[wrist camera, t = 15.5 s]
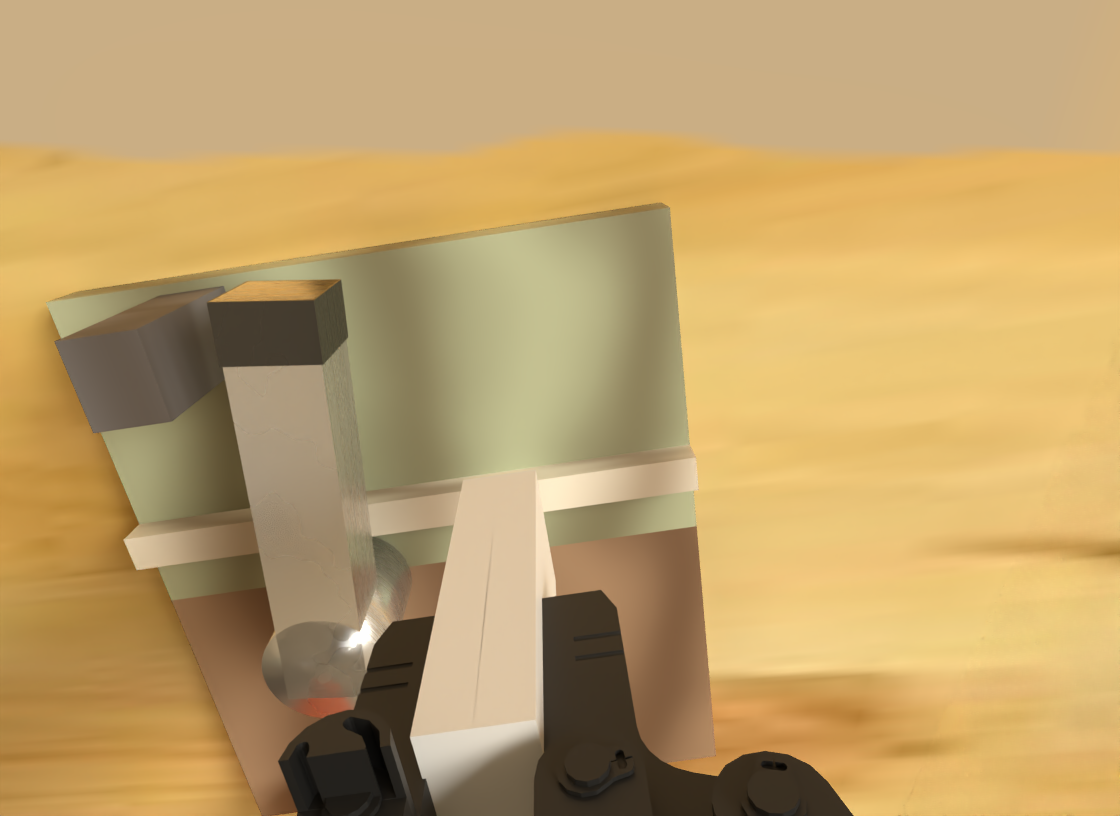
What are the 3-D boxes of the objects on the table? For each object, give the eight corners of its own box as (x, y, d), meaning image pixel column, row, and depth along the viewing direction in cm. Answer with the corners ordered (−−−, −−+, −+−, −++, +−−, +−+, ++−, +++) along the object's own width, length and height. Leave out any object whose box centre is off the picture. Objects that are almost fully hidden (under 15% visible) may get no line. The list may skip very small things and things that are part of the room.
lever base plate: (274, 785, 31) (211, 945, 25) (75, 291, 23) (-91, 350, 17) (707, 727, 30) (750, 875, 24) (661, 202, 22) (707, 229, 16)
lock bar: (416, 618, 26) (392, 717, 21) (316, 621, 26) (271, 721, 21) (378, 264, 21) (337, 299, 17) (256, 266, 21) (182, 302, 17)
